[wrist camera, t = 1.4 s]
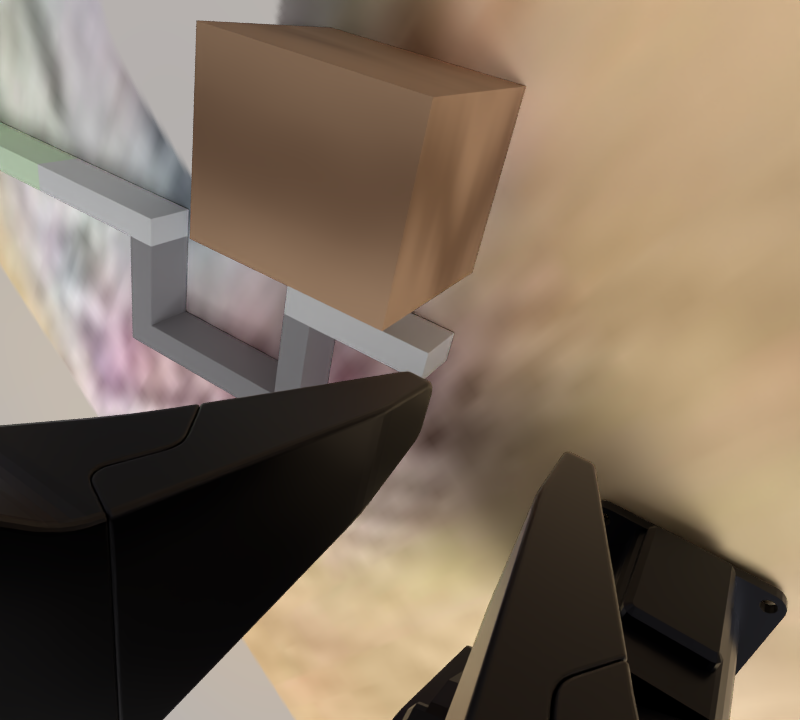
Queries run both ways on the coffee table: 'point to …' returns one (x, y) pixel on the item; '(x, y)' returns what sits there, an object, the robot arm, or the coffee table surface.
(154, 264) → the trap pockets
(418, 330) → the lane
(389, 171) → the walnut block
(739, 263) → the coffee table surface
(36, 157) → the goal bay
